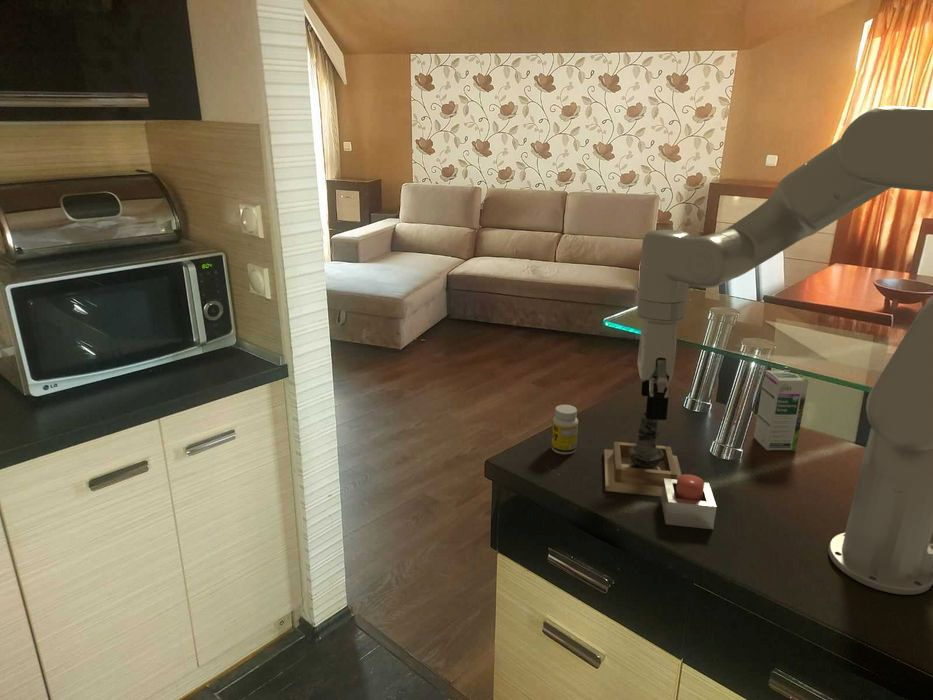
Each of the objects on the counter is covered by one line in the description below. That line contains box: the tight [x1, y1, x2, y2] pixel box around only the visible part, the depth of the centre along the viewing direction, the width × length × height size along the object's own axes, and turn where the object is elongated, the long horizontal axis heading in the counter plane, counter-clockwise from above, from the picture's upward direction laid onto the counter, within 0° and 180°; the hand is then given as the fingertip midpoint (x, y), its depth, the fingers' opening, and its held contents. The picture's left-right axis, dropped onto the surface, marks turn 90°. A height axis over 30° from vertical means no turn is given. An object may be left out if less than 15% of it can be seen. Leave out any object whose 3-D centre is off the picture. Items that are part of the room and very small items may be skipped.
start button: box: [675, 473, 705, 501], centre depth 101 cm, size 4×4×3 cm
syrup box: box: [753, 369, 809, 452], centre depth 123 cm, size 6×6×14 cm
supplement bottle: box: [550, 404, 579, 455], centre depth 121 cm, size 5×5×8 cm
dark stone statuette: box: [628, 411, 663, 470], centre depth 111 cm, size 6×6×12 cm
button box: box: [660, 478, 718, 530], centre depth 102 cm, size 7×7×4 cm
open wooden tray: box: [603, 441, 682, 497], centre depth 113 cm, size 13×13×4 cm
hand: (653, 406), depth 109 cm, fingers open, 9 cm apart
